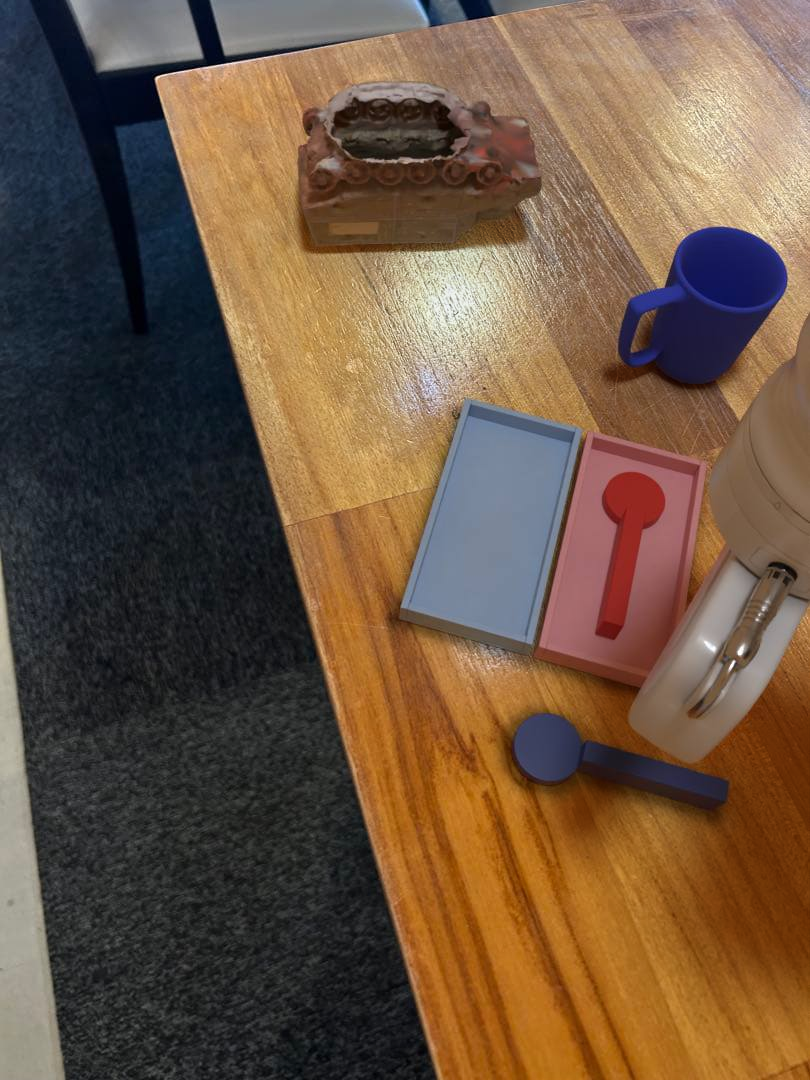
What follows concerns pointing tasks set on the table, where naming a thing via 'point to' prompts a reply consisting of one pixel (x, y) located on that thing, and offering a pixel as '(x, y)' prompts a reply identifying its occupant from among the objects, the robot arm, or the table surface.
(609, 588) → the red spoon
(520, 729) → the blue spoon
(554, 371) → the table surface
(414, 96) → the decorative box
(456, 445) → the blue tray
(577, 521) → the pink tray
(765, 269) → the mug
